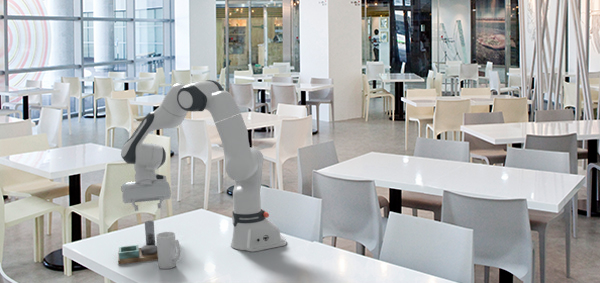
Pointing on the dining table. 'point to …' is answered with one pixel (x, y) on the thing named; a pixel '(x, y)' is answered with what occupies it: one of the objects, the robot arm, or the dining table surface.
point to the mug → (167, 250)
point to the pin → (149, 233)
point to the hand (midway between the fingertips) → (148, 208)
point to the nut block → (137, 254)
